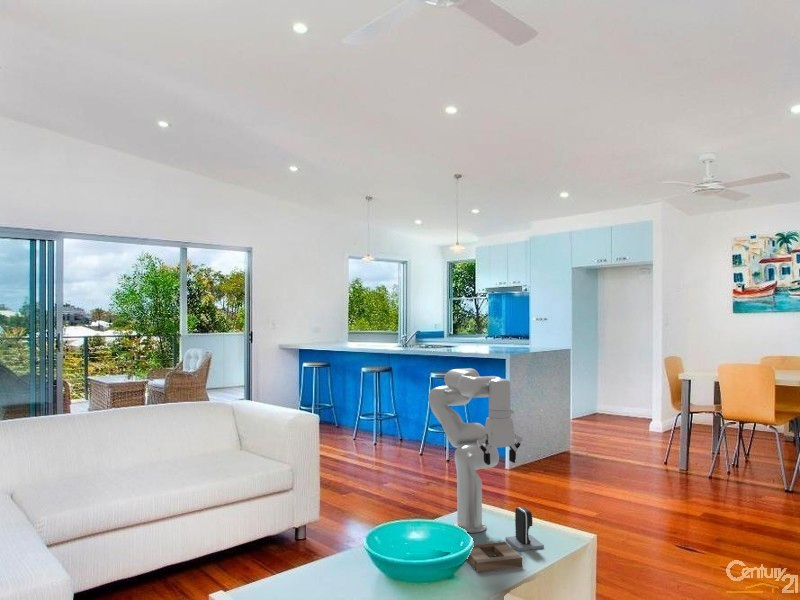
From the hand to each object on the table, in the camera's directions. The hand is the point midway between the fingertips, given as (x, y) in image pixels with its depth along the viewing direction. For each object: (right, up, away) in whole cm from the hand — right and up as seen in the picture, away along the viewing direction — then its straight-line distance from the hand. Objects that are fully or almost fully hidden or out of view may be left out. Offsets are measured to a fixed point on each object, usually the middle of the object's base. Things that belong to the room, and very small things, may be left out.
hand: (499, 462), depth 200 cm
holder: (-5, -30, -11) cm, 32 cm away
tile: (+9, -30, +3) cm, 32 cm away
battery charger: (+9, -29, +4) cm, 31 cm away
